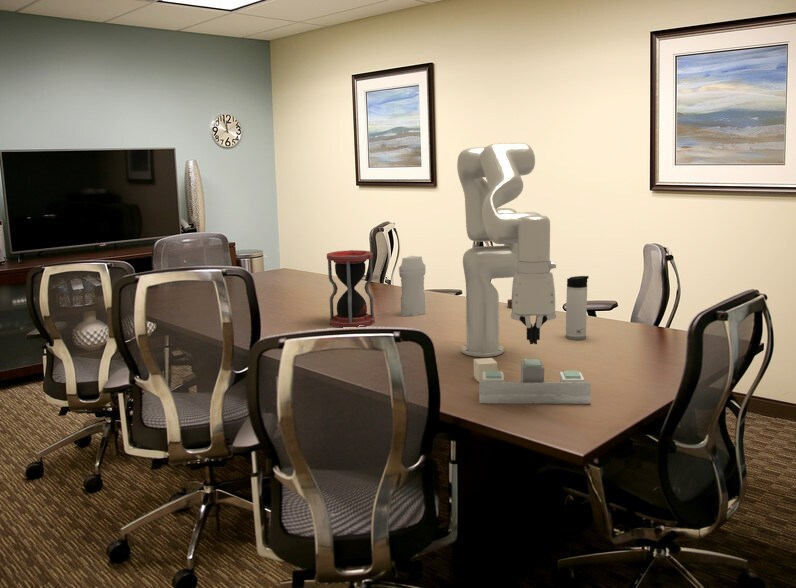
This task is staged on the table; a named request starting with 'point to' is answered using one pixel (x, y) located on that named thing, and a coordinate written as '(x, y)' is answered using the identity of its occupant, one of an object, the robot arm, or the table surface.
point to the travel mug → (576, 307)
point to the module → (532, 370)
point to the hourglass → (351, 288)
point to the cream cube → (483, 367)
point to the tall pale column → (412, 286)
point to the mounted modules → (564, 376)
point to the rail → (535, 392)
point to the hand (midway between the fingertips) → (533, 342)
